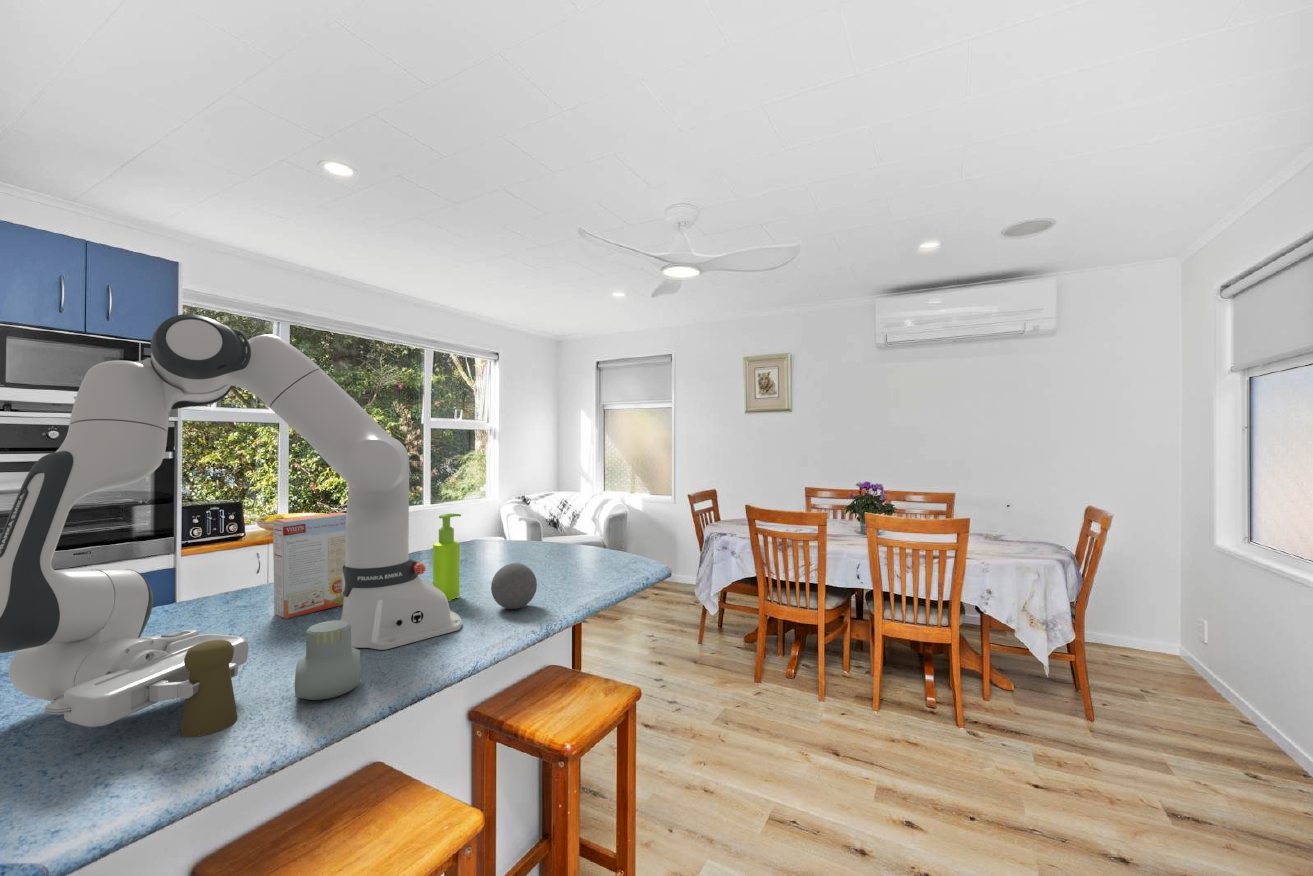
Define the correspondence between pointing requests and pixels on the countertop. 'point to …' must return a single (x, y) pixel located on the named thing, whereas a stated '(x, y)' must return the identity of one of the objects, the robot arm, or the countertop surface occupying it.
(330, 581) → the cracker box
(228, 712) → the cork
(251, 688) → the countertop surface
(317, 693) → the air freshener
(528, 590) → the decorative ball
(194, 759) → the countertop surface
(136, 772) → the countertop surface
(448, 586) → the soap dispenser
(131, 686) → the robot arm
